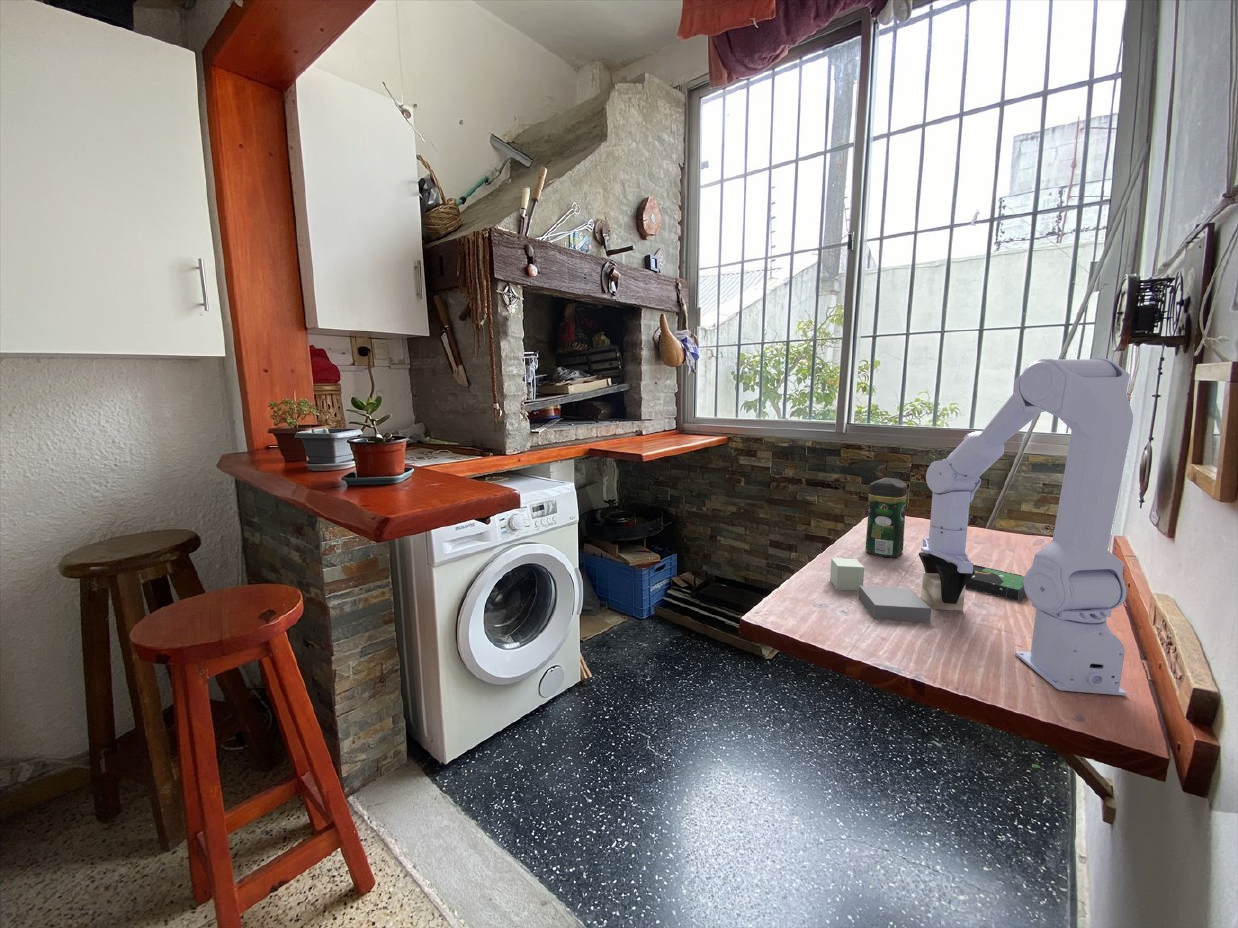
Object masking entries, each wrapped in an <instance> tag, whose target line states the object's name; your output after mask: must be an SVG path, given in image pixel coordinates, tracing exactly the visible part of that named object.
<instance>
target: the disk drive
mask: <svg viewBox="0 0 1238 928" xmlns="http://www.w3.org/2000/svg"><path fill="white" fill-rule="evenodd" d="M973 570H974V571H975V573H974V575H973V576H972V577H971V578H970V579H969V580H968V582H967V583H966V585H965V589H969V590H974V591H978V592H982V593H985V594H989V595H992V596H993V595H994V596H998V597H1001V598H1003V599H1008V600H1011V601H1015V602H1020V601H1021V600H1022V599H1023V598H1024V597H1026V596H1027V595H1026V593H1025V590H1024V577H1025V575H1024V576H1023V575H1022V574H1018V573H1013V572H1007V571H1004V570H999V569H994V568H990V567H986V566H981V565H978V564H977V565H976V564H973Z"/></svg>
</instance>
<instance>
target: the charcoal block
mask: <svg viewBox="0 0 1238 928" xmlns="http://www.w3.org/2000/svg"><path fill="white" fill-rule="evenodd" d="M858 600H859V601H860V602H861V604H863V606H864V608H865V609H866V611H868V613H869V614H870V615H871V616H872V618H873V619H874V620H880V621H881V620H882V621H883V620H884V621H899V622H912V623H913V622H914V623H915V622H916V623H928V624H929V623H931V618H932V607H931V606H930V605H929V604H928V603H926V602H925V601H924V600H923V599H922V598H921V596H919V595H918V594H917V593H916V592H915V591H914V590H912V588H910V587H894V586H893V587H891V586H877V585H876V586H872V585H863V586H859V591H858Z"/></svg>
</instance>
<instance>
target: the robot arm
mask: <svg viewBox="0 0 1238 928" xmlns="http://www.w3.org/2000/svg"><path fill="white" fill-rule="evenodd" d="M1130 377H1131V374H1130V373H1129V372H1128V371H1127V370H1125V369H1124V368H1122V367H1121V365H1119V364H1118V363H1116V362H1115V361H1113V360H1111V359H1108V358H1102V357H1101V358H1092V359H1084V358H1083V359H1053V358H1040V359H1036V360H1034V361H1032V362H1031V363H1030V364H1028V365H1027V366H1026V367H1025V369H1024V370H1023V372H1022V374H1020V375H1019V376H1018V377H1017V378H1015V379H1014V384H1013V387H1014V388H1013V389H1014V390H1013V391H1014V392H1013V393H1012V394H1011V396H1009V397H1008V399H1007V400H1006V402H1005V403H1004V404H1003V405H1002V407H1001V408H1000V409H999V410H998V411H997V413H996V414H995V415H994V416H993V417H992V419H991V420H990V421H989V423H987V425H986V426H985V428H984V429H983V430H982V431H981V430H979V431H972V432H971V433H966V434H965V436H964V437H963V441H961V443H960V444H958V445H957V447H956V448H954V450H953V451H952V452H951V453H949V454H948V456H947V457H946V458H942V460H935V461H932V462H931V463H930V465H929V466H928V468H927V470H926V474H925V481H926V484H927V487H928V488H929V490H931V492H932V497H931V508H930V509H931V510H930V511H931V512H930V519H929V520H930V522H929V531H928V532H929V533H928V534H929V535H928V537H923V538H922V546H921V547H920V551H921V552H918V557H919V559H920V561H921V562H922V566H923V568H924V573H935V574H939V576H940V581H941V596H942V601H943V602H944V603H949V604H956V603H957V601H958V599H959V597H960V594H961V592H962V590H963V588H964V586H965V585H966V583H967V582H968V580H969V579H970V578H971V577H972V576H973V575H974V573H975V571H974V570H973V565H974V562H973V561H971V559H970V557H969V555H968V553H967V551H966V548H967V547H966V544H967V535H968V523H969V516H970V515H969V513H970V506H971V505H970V503H972V502H973V501H974V499H975V493H976V491H977V490H978V489H979V488H980V486H981V483H982V479H981V478H980V477H981V476H982V475H983V474H984V473H985V472H986V471H987V470H988V469H989V468H990V467H991V466H993V465H994V464H995V462H997V461H998V460H999V459H1000V458H1001V457H1002V456H1004V453H1005V445H1004V444H1005V443H1006V442H1007V441H1008V440H1010V439H1011V438H1012V437H1013V436H1014V435H1016V434H1017V433H1018V432H1020V430H1022V429H1023V428H1024V427H1025V426H1027V425H1028V424H1029V423H1030V422H1031V421H1033V420H1034V419H1035V418H1036V417H1038V415H1040V414H1041V413H1044V412H1046V413H1048V414H1051V415H1052V416H1055V417H1057V418H1059V419H1060V420H1061V421H1062V423H1064V424H1065V425H1066V426H1067V427H1068V428H1069V429H1070V431H1071V433H1070V438H1069V444H1068V450H1067V455H1066V461H1065V466H1064V473H1063V478H1062V484H1061V490H1060V495H1059V502H1058V506H1057V507H1058V508H1057V512H1056V518H1055V525H1054V530H1053V535H1052V536H1053V537H1052V540H1051V541H1050V542H1049V543H1048V544H1047V545H1045V546H1044V547H1042V548H1041V549H1039V550H1038V551H1037V552H1036V553H1035V554H1034V557H1033V561H1032V563H1031V564H1032V565H1031V567H1030V568H1029V569H1028V570H1027V571H1026V573H1025V575H1024V576H1025V577H1024V590H1025V593H1026V595H1025V596H1027V598H1028V600H1029V601H1030V602H1031V607H1033V608H1034V609H1035V612H1034V620H1033V621H1034V623H1033V629H1032V637H1031V645H1030V651H1020V650H1016V651H1015V653H1014V655H1016V657H1017V658H1019V659H1020V660H1021V661H1023V663H1025V665H1027V666H1029V667H1030V668H1031V669H1032V670H1034V671H1035V672H1036V673H1037V674H1038V675H1039V676H1041V677H1042V678H1043V679H1044V680H1046V682H1048V683H1049V684H1050V685H1051V686H1053V687H1054V688H1055V689H1056V690H1059V691H1062V692H1063V691H1065V692H1073V693H1074V692H1075V693H1086V694H1087V693H1089V694H1100V695H1101V694H1102V695H1113V696H1127V691H1126V690H1125V689H1123V688H1121V687H1120V686H1121V680H1122V672H1123V665H1124V659H1125V647H1124V645H1123V643H1122V641H1121V639H1120V638H1118V637H1117V636H1116V635H1115V634H1114V633H1113V632H1112V631H1111V630H1110V629H1109V626H1108V622H1107V618H1111V616H1112V615H1111V614H1112V610H1115V609H1117V608H1119V607H1120V606H1122V604H1123V603H1125V601H1126V598H1127V586H1126V582H1125V580H1124V576H1123V571H1124V567H1125V563H1124V562H1123V561H1122V560H1121V559H1120V558H1118V557H1117V556H1116V555H1114V554H1113V553H1112V552H1111V551H1109V550H1108V549H1109V545H1110V540H1111V533H1112V529H1113V526H1114V525H1113V524H1114V519H1115V514H1116V509H1117V504H1118V501H1119V500H1118V498H1119V494H1120V491H1121V490H1120V489H1121V483H1122V479H1123V475H1124V468H1125V463H1126V458H1127V453H1128V449H1129V444H1130V438H1131V434H1132V433H1131V432H1132V428H1133V424H1134V415H1133V410H1132V407H1131V403H1130V400H1129V397H1128V393H1127V392H1128V388H1129V382H1130Z"/></svg>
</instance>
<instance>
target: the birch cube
mask: <svg viewBox="0 0 1238 928" xmlns="http://www.w3.org/2000/svg"><path fill="white" fill-rule="evenodd" d="M921 582H922V584H921V595H920V598H921V599H922V600H923V601H924V602H925V603H926V604H927V605H928V606H929V607H931V609H932V610H947V611H948V610H951V611H964V604H965V594H966V587H965V586H964V588H963V590H962V592H961V594H960V597H959V599H958V601H957V603H956V604H949V603H944V602H943V601H942V596H941V581H940V576H939V574H935V573H925V572H923V573H922V581H921Z"/></svg>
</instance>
